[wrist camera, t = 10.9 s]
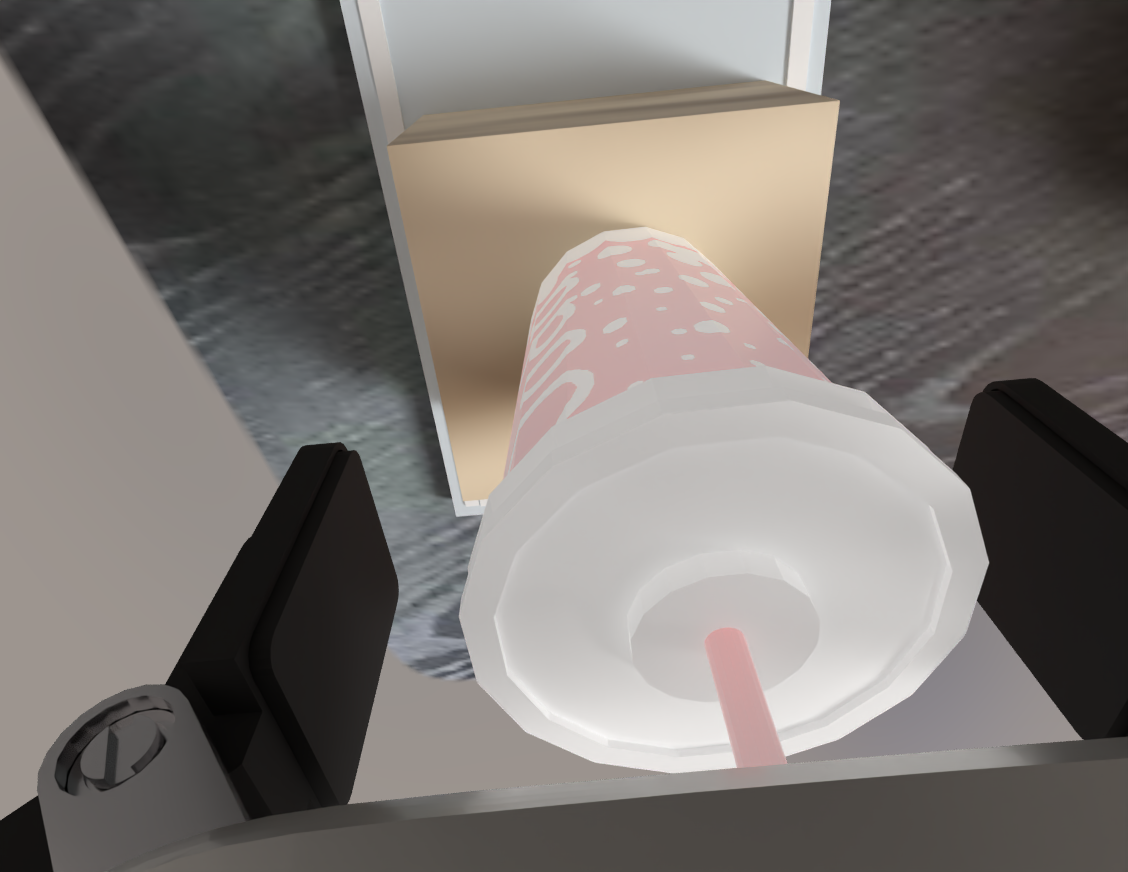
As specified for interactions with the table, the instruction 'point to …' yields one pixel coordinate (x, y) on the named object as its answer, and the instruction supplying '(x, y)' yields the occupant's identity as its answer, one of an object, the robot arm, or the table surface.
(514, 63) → the white tray
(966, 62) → the table surface
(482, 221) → the maple block
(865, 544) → the beverage cup
